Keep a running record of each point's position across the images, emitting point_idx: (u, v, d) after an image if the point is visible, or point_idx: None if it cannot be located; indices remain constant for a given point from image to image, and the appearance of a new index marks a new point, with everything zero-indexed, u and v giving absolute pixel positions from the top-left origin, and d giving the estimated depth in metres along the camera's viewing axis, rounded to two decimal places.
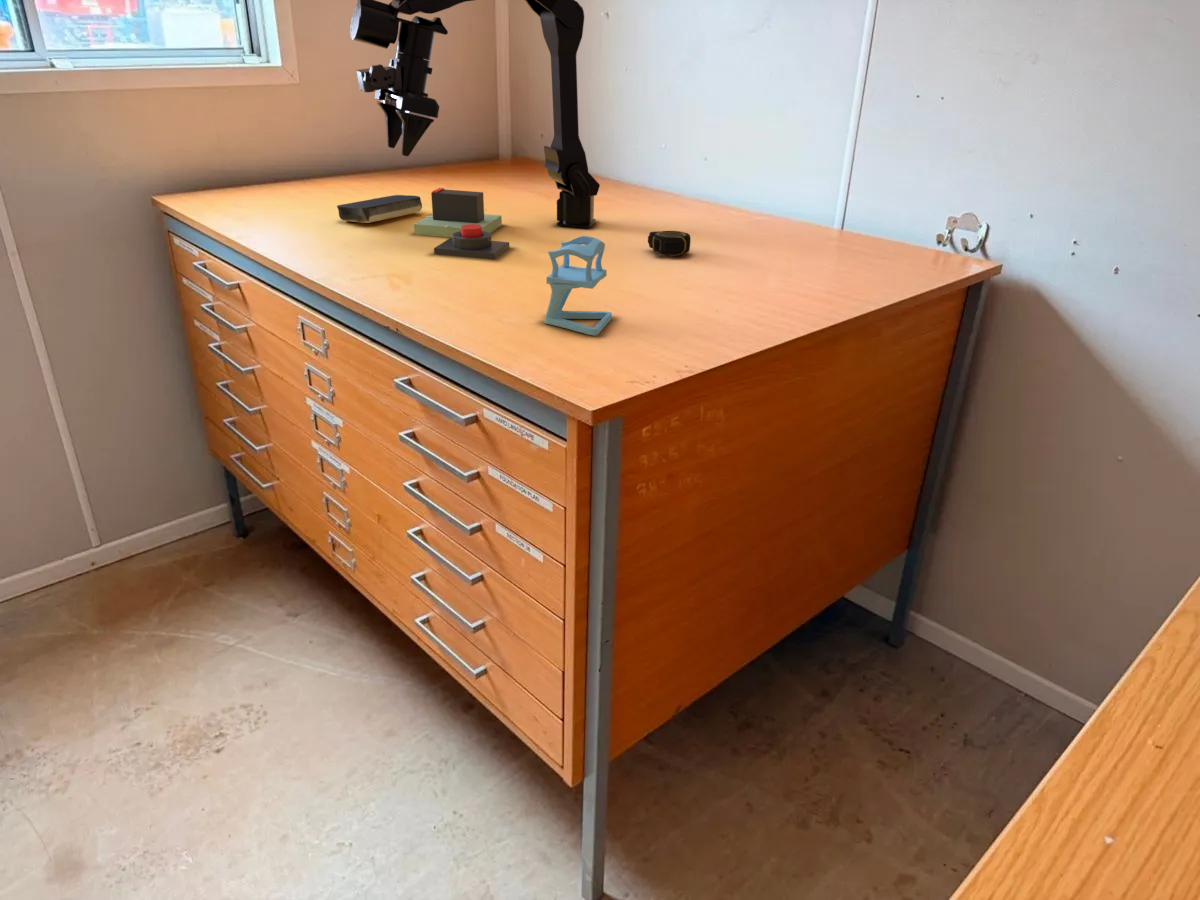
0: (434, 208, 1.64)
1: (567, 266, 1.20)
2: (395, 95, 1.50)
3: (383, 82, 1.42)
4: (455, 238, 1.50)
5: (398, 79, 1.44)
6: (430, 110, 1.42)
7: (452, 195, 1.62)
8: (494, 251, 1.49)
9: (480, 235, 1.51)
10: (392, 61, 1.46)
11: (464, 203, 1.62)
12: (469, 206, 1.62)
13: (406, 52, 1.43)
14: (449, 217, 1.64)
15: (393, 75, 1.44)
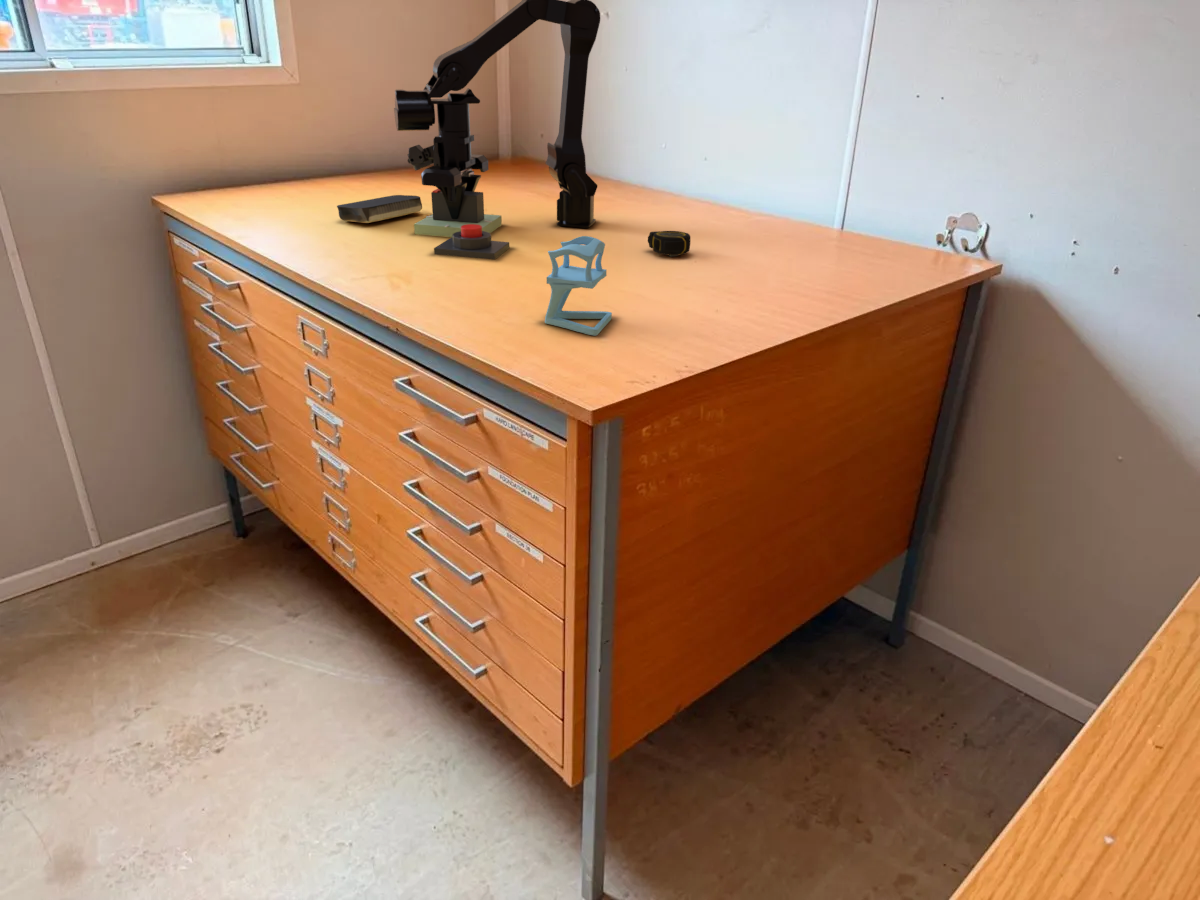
0: (434, 208, 1.64)
1: (567, 266, 1.20)
2: None
3: (419, 160, 1.58)
4: (455, 238, 1.50)
5: (435, 155, 1.58)
6: (444, 181, 1.53)
7: None
8: (494, 251, 1.49)
9: (480, 235, 1.51)
10: None
11: (464, 203, 1.62)
12: (469, 206, 1.62)
13: (446, 130, 1.56)
14: (449, 217, 1.64)
15: (432, 151, 1.58)
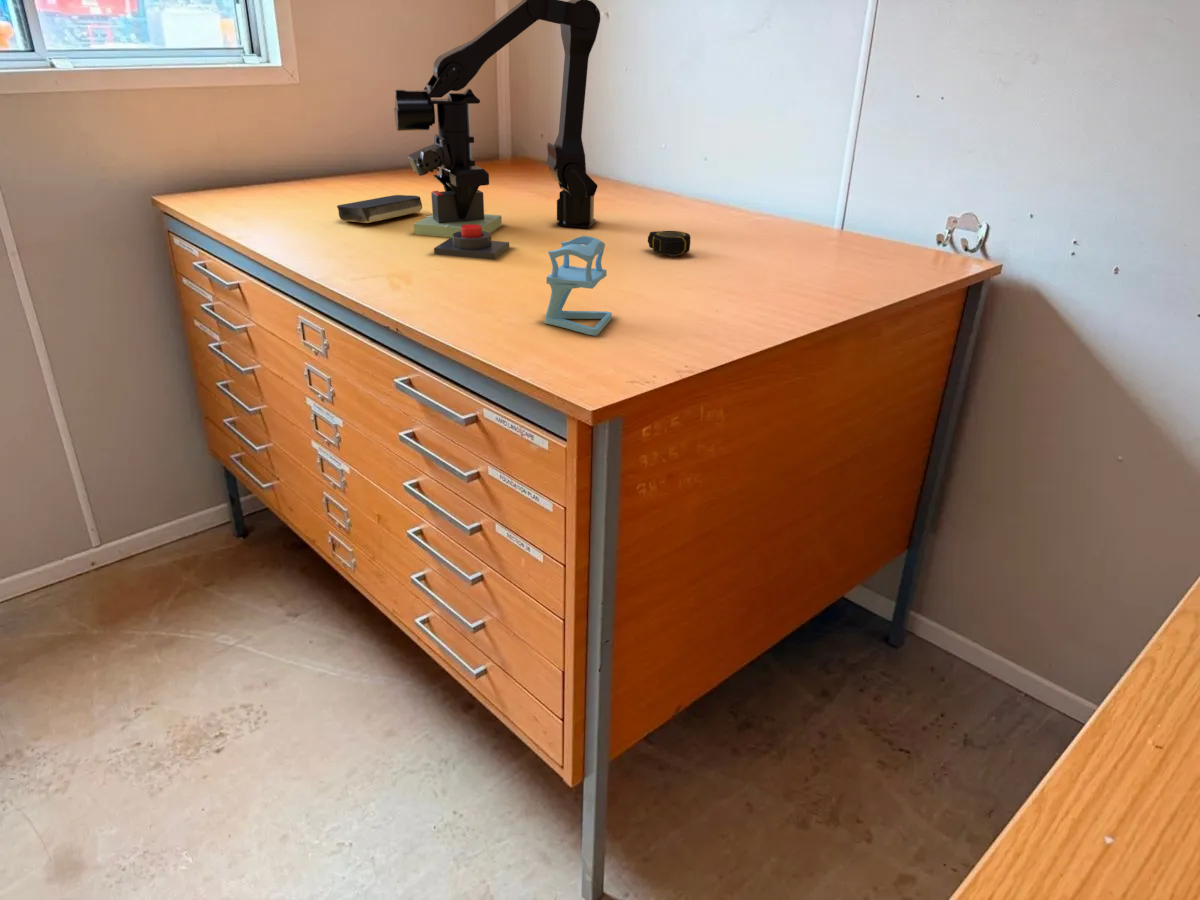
0: (440, 211, 1.61)
1: (567, 266, 1.20)
2: (449, 168, 1.61)
3: (434, 164, 1.55)
4: (455, 238, 1.50)
5: (446, 156, 1.57)
6: (481, 180, 1.55)
7: None
8: (494, 251, 1.49)
9: (480, 235, 1.51)
10: (437, 139, 1.58)
11: None
12: (476, 203, 1.64)
13: (445, 130, 1.56)
14: (455, 218, 1.63)
15: (441, 153, 1.56)
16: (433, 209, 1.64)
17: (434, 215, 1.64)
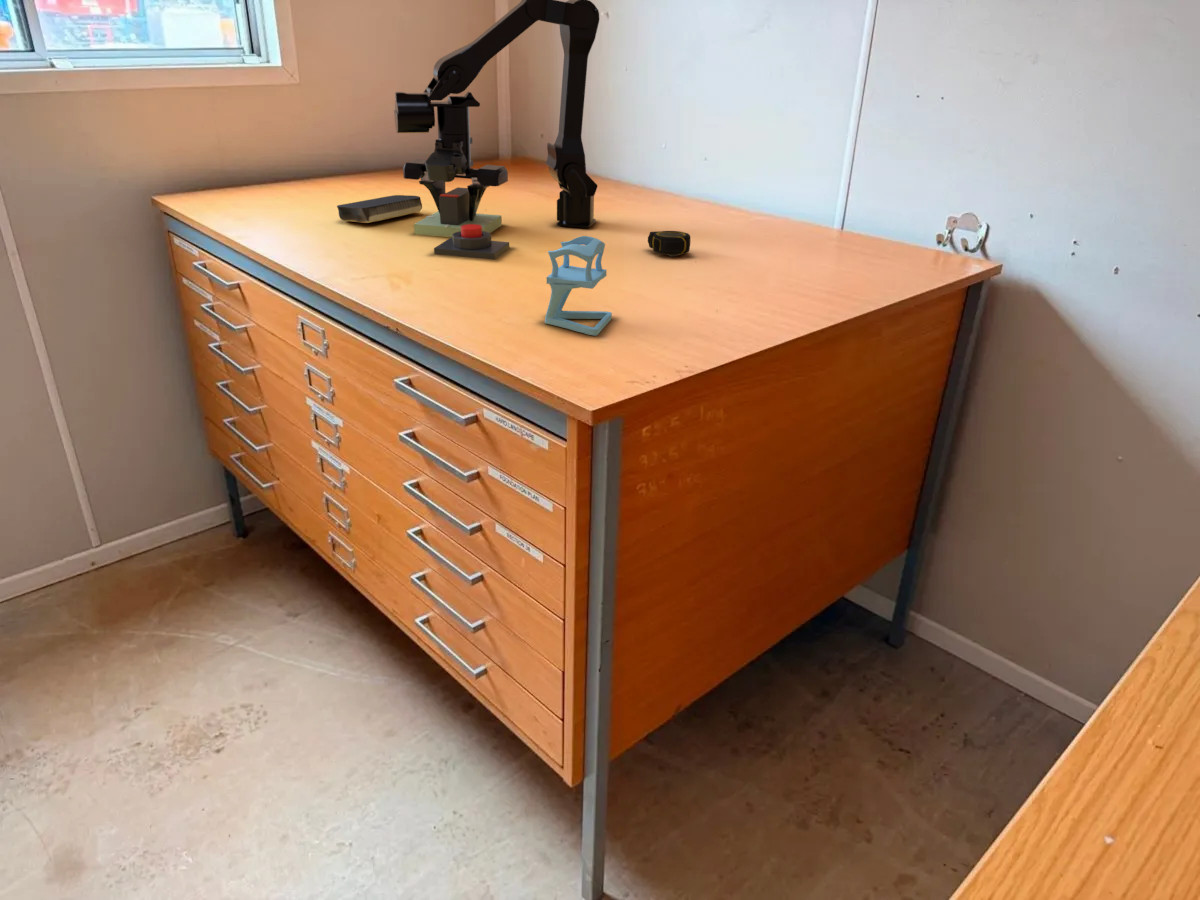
0: (458, 213, 1.61)
1: (567, 266, 1.20)
2: None
3: (465, 168, 1.55)
4: (455, 238, 1.50)
5: None
6: (505, 176, 1.61)
7: (465, 194, 1.63)
8: (494, 251, 1.49)
9: (480, 235, 1.51)
10: (442, 143, 1.57)
11: None
12: None
13: (445, 132, 1.56)
14: (465, 217, 1.64)
15: None
16: (443, 213, 1.61)
17: (446, 219, 1.61)
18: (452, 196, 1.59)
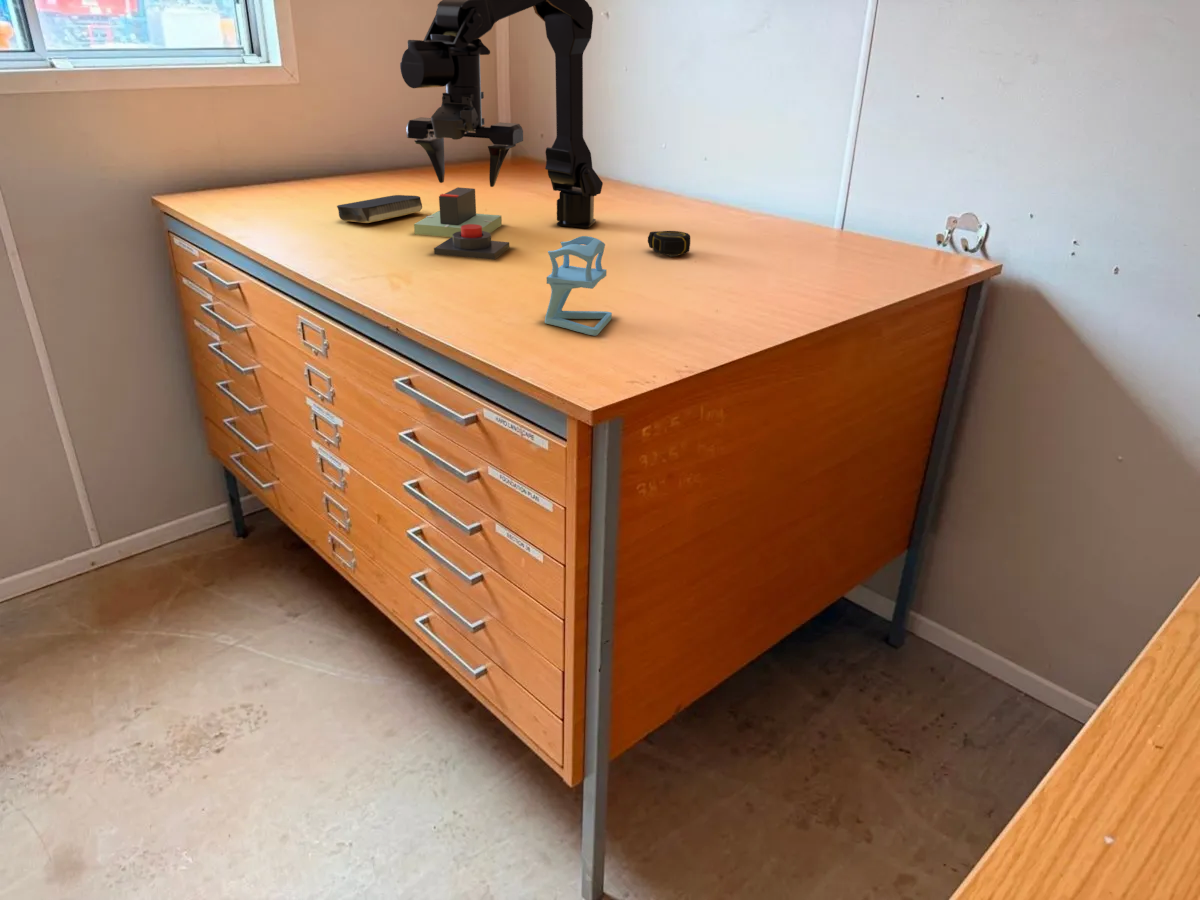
0: (458, 213, 1.61)
1: (567, 266, 1.20)
2: None
3: (476, 123, 1.38)
4: (455, 238, 1.50)
5: None
6: (521, 135, 1.44)
7: (465, 194, 1.63)
8: (494, 251, 1.49)
9: (480, 235, 1.51)
10: (450, 97, 1.40)
11: (470, 199, 1.65)
12: (472, 200, 1.66)
13: (463, 85, 1.39)
14: (465, 217, 1.64)
15: None
16: (443, 213, 1.61)
17: (446, 219, 1.61)
18: (452, 196, 1.59)
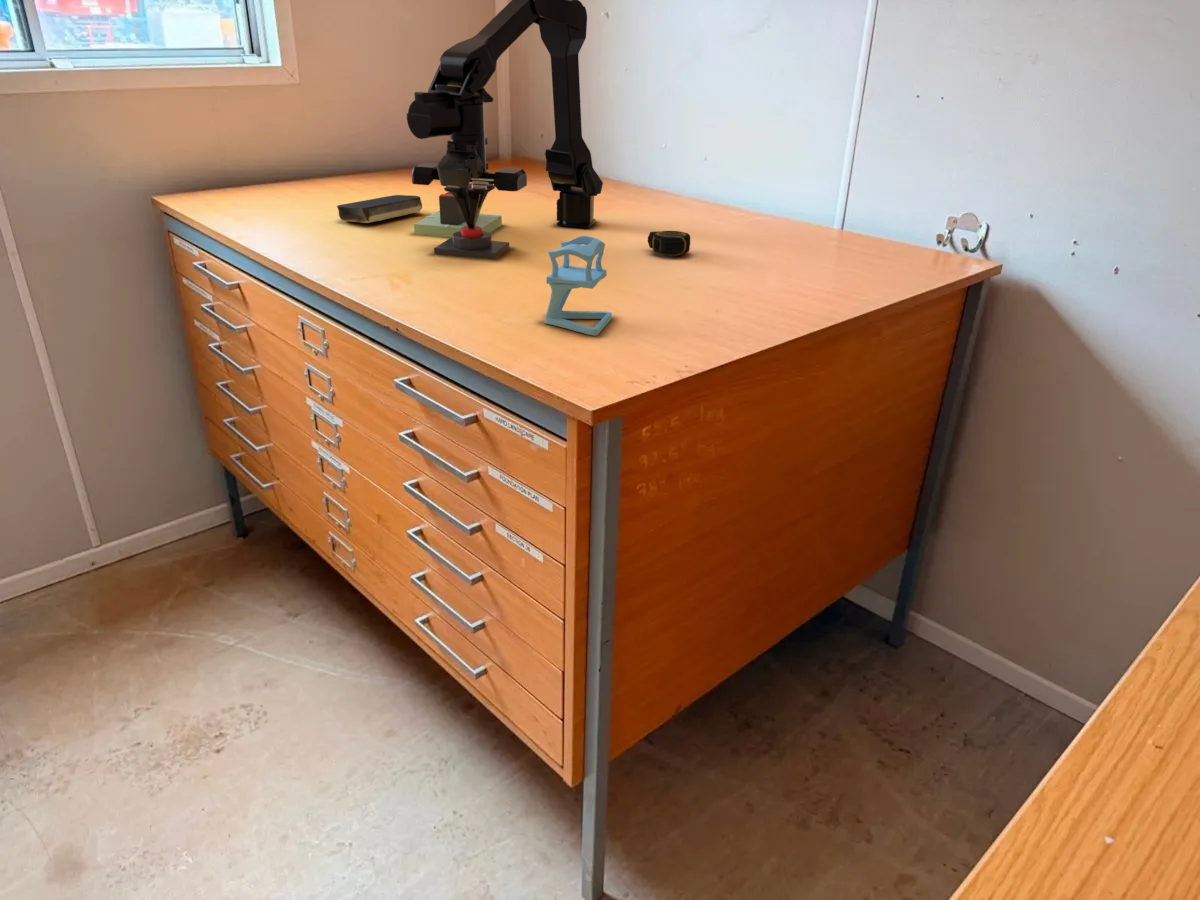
0: (458, 213, 1.61)
1: (567, 266, 1.20)
2: None
3: (481, 171, 1.41)
4: (455, 238, 1.50)
5: None
6: (524, 180, 1.47)
7: None
8: (494, 251, 1.49)
9: (480, 236, 1.51)
10: (455, 145, 1.42)
11: None
12: None
13: (468, 133, 1.41)
14: None
15: None
16: (443, 213, 1.61)
17: (446, 219, 1.61)
18: (452, 196, 1.59)
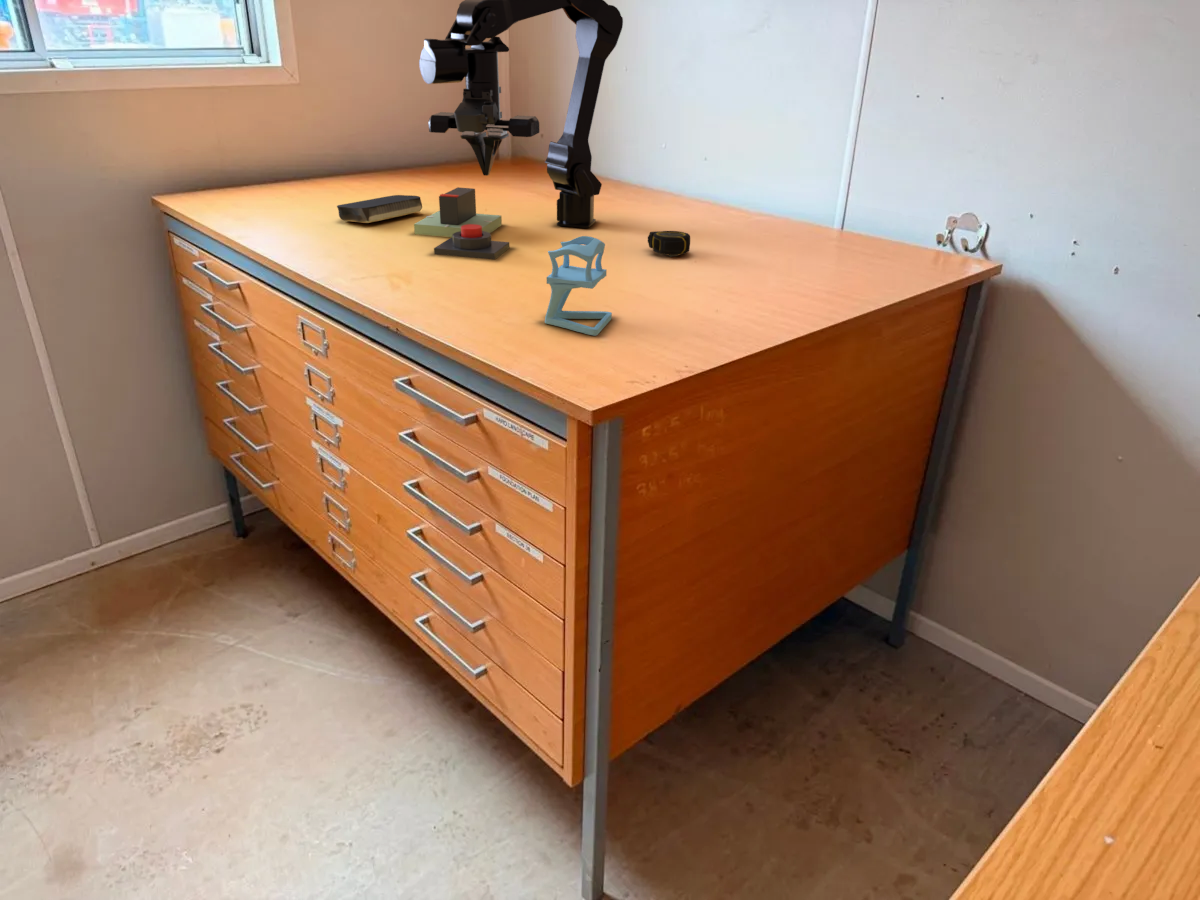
0: (458, 213, 1.61)
1: (567, 266, 1.20)
2: (489, 124, 1.51)
3: (497, 117, 1.46)
4: (455, 238, 1.50)
5: None
6: (537, 127, 1.52)
7: (465, 194, 1.63)
8: (494, 251, 1.49)
9: (480, 235, 1.51)
10: (471, 93, 1.48)
11: (470, 199, 1.65)
12: (472, 200, 1.66)
13: (479, 81, 1.47)
14: (465, 217, 1.64)
15: None
16: (443, 213, 1.61)
17: (446, 219, 1.61)
18: (452, 196, 1.59)
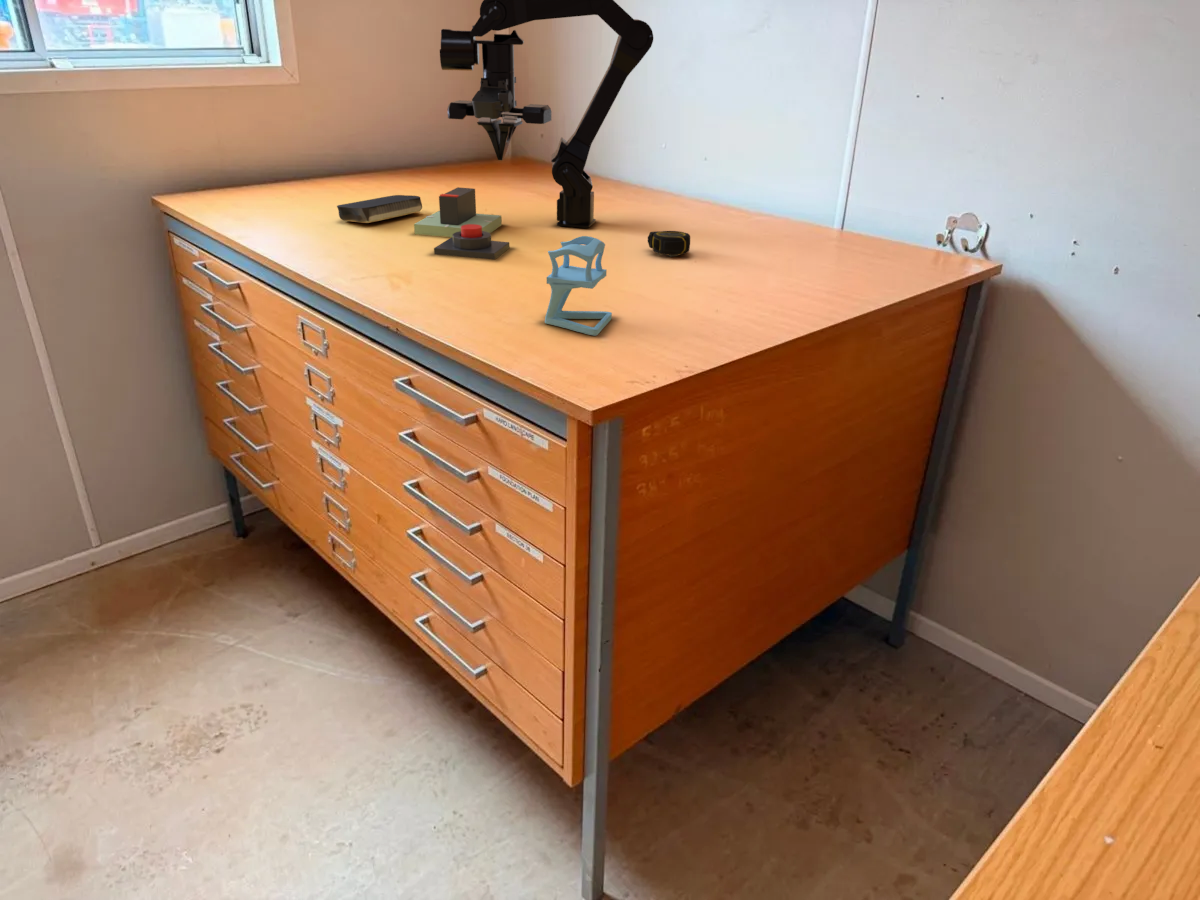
0: (458, 213, 1.61)
1: (567, 266, 1.20)
2: (504, 112, 1.61)
3: (511, 105, 1.56)
4: (455, 238, 1.50)
5: None
6: (549, 115, 1.62)
7: (465, 194, 1.63)
8: (494, 251, 1.49)
9: (480, 235, 1.51)
10: (488, 82, 1.58)
11: (470, 199, 1.65)
12: (472, 200, 1.66)
13: (487, 70, 1.57)
14: (465, 217, 1.64)
15: None
16: (443, 213, 1.61)
17: (446, 219, 1.61)
18: (452, 196, 1.59)
